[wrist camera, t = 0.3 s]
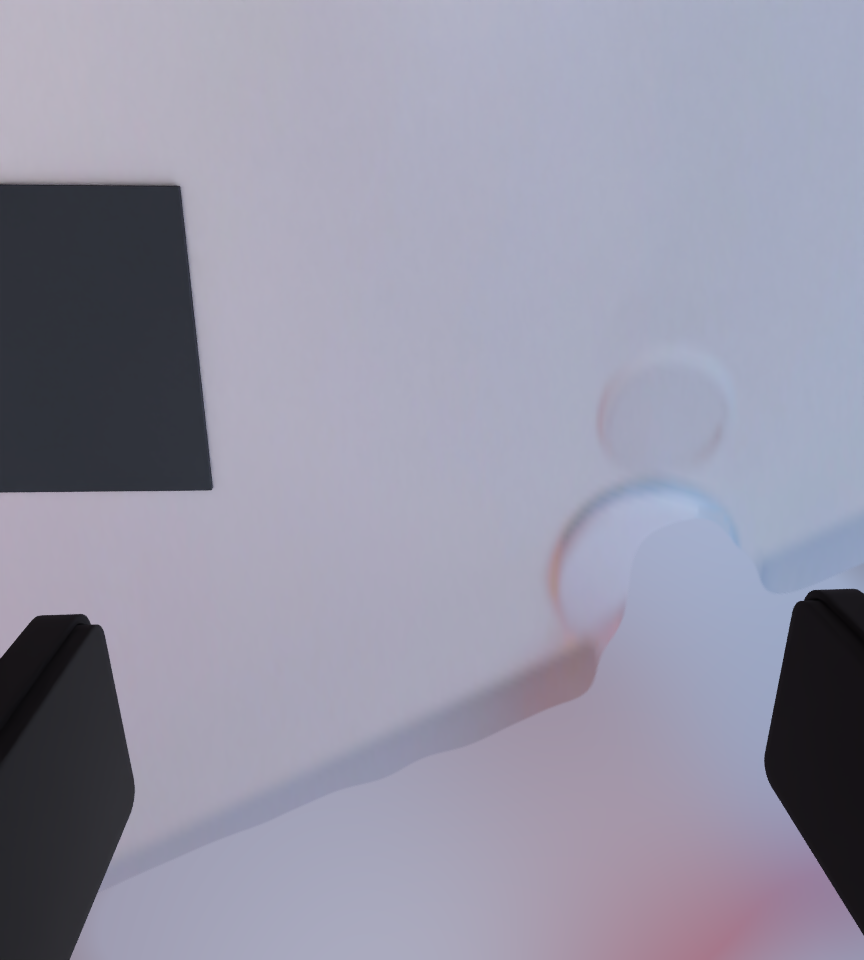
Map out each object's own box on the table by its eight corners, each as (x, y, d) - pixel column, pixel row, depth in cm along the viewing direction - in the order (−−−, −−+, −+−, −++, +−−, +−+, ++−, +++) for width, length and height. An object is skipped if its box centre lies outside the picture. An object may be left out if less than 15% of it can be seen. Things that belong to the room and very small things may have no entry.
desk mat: (-197, 183, 41) (-202, 182, 40) (180, 186, 41) (178, 186, 41) (-110, 491, 47) (-114, 493, 47) (213, 488, 48) (211, 490, 48)
